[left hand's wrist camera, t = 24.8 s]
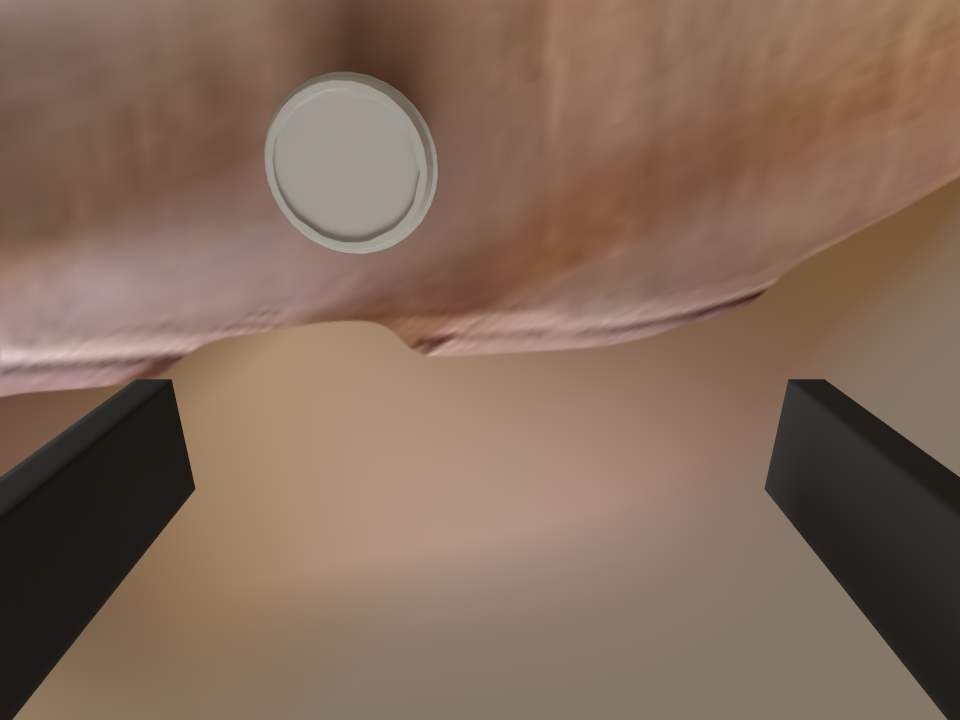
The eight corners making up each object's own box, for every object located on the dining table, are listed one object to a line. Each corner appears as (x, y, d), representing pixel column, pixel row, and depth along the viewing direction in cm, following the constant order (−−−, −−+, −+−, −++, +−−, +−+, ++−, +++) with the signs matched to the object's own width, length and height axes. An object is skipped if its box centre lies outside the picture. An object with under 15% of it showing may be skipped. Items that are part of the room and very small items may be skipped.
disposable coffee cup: (430, 239, 44) (413, 277, 33) (306, 205, 43) (245, 231, 32) (462, 108, 40) (456, 100, 29) (328, 68, 39) (269, 43, 28)
